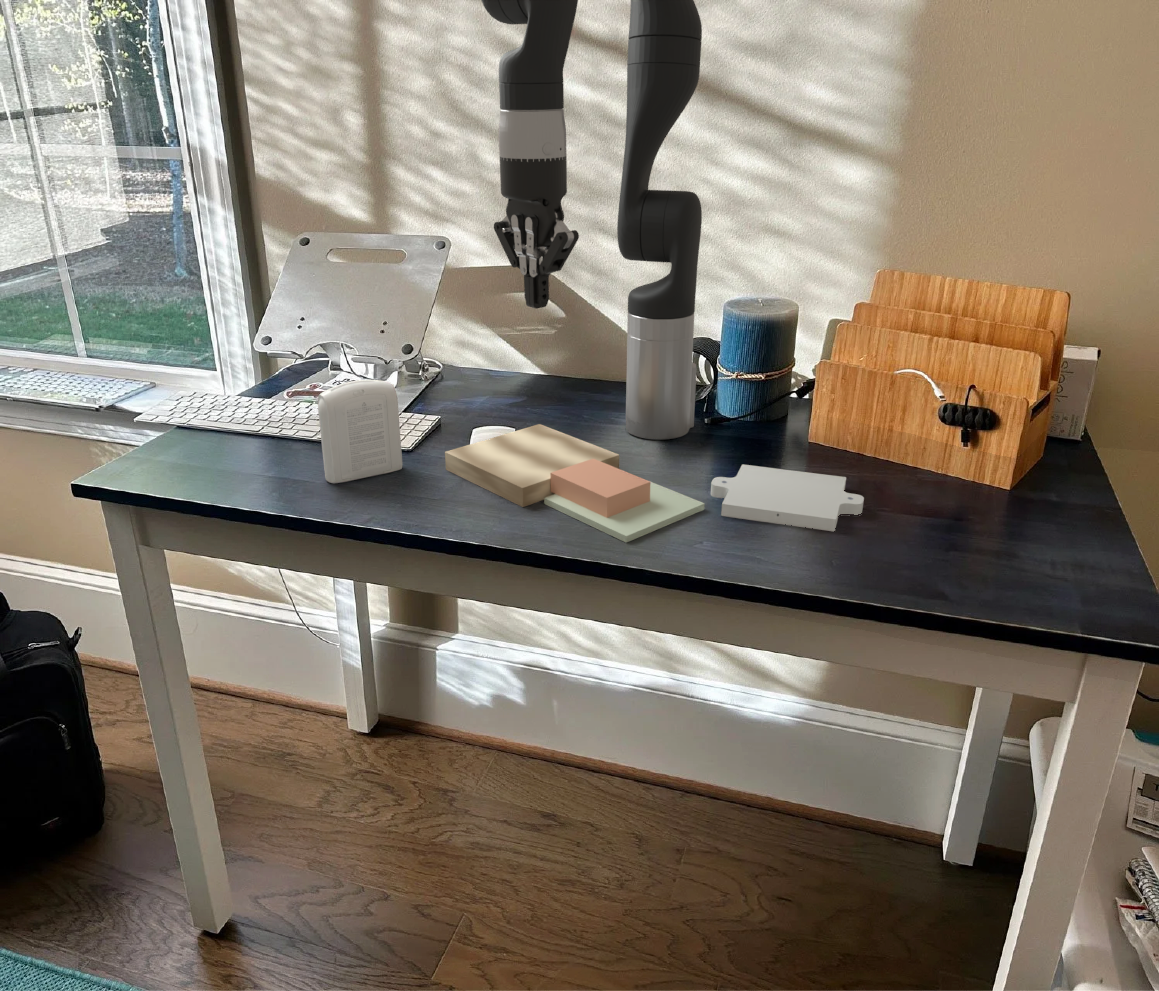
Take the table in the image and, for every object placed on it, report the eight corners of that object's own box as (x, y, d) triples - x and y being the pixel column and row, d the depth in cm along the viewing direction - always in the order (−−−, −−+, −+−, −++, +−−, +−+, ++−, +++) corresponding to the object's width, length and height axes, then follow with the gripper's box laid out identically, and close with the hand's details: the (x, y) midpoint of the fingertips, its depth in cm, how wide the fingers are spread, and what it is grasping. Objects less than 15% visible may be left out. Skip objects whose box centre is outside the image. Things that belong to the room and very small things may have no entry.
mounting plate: (699, 515, 112) (700, 500, 112) (721, 475, 124) (722, 461, 123) (857, 538, 107) (859, 522, 106) (865, 494, 118) (867, 479, 117)
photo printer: (395, 460, 128) (387, 371, 123) (408, 470, 124) (401, 379, 119) (320, 477, 123) (309, 384, 118) (332, 488, 119) (321, 393, 114)
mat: (621, 475, 122) (621, 470, 122) (704, 509, 113) (704, 503, 113) (544, 503, 115) (544, 497, 114) (626, 542, 105) (626, 536, 105)
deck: (539, 440, 134) (539, 423, 133) (619, 472, 123) (619, 454, 122) (445, 469, 125) (444, 451, 124) (522, 507, 114) (522, 488, 113)
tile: (593, 476, 120) (593, 458, 119) (649, 501, 113) (650, 481, 112) (550, 491, 116) (550, 472, 115) (606, 517, 109) (607, 497, 108)
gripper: (598, 154, 104) (597, 310, 112) (520, 147, 113) (525, 292, 120) (546, 158, 100) (549, 321, 107) (470, 151, 109) (477, 302, 116)
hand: (536, 306), depth 114 cm, fingers closed
